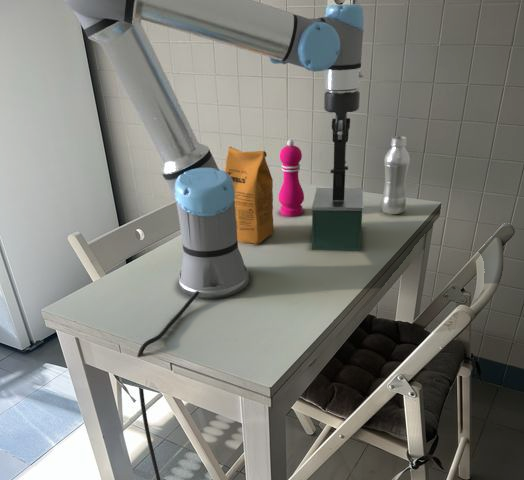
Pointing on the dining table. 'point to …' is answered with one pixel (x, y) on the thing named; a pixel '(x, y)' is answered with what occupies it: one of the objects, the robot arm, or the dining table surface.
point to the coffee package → (251, 194)
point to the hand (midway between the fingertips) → (338, 199)
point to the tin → (336, 230)
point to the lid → (326, 202)
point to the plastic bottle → (395, 176)
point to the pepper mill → (291, 181)
